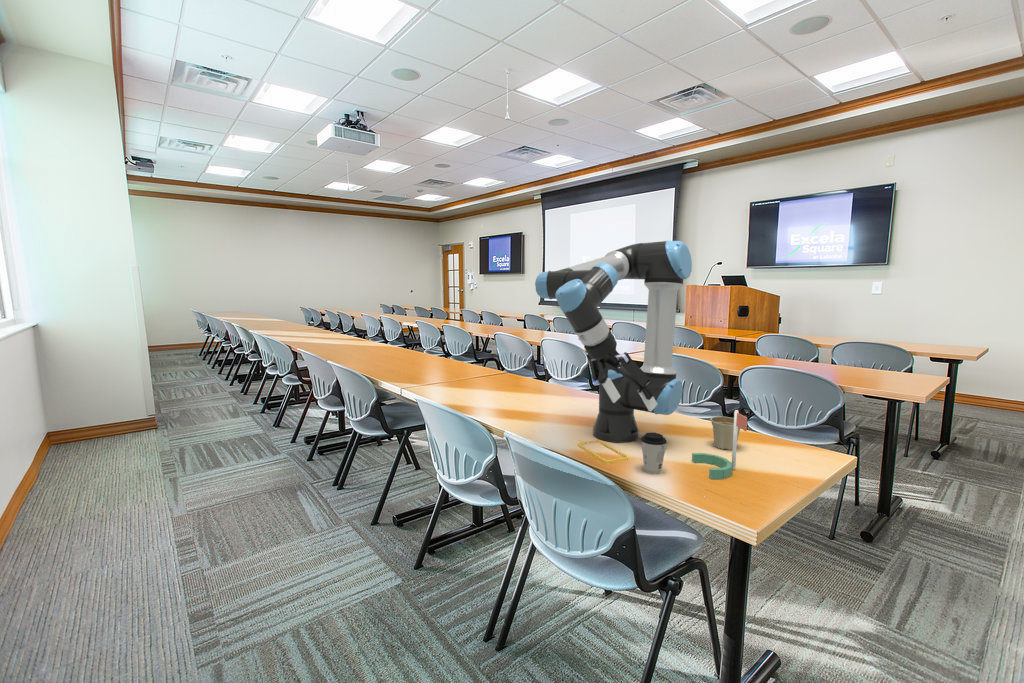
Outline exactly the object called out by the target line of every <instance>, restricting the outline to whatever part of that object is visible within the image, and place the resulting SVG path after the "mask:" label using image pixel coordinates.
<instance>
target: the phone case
mask: <svg viewBox="0 0 1024 683" xmlns="http://www.w3.org/2000/svg"><path fill="white" fill-rule="evenodd" d="M593 442H594V443H595V442H596V443H598V442H599V444H601V445H602V446H604V445H605V446H604V447H606V446H607V447H606V448H608V449H610V450H611V449H612V450H611V451H613V450H614V451H613V452H615V453H617V454H619V455H620V454H621V456H622V455H623V457H620V458H615V459H613V458H612V459H605V458H604V457H602V456H601V455H599V454H597V453H595V452H594V451H593V450H590V449H589V448H587V447H586V446H584V445H586V444H587V443H593ZM582 444H584V445H582ZM577 447H579V448H580V447H581V448H580V449H582V450H583V449H584V450H583V451H584V452H587V453H588V454H590V455H591V456H593V457H595V459H598V460H599V461H601V462H602V463H604V464H614V462H615V463H619V461H621V462H625V461H624V460H627V461H629V460H628V459H630V458H629V457H630V456H629V455H627V454H626V453H623V452H622V451H620V450H618V449H616V448H614V447H613V446H611V445H610V444H607V443H606V442H604V441H603V440H601V439H593V440H586V441H579V442H577Z"/></svg>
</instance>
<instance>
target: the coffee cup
mask: <svg viewBox="0 0 1024 683" xmlns="http://www.w3.org/2000/svg"><path fill="white" fill-rule="evenodd" d="M640 441H641V448H642V449H641V451H642V452H641V453H642V460H643V461H642V462H643V469H644V472H646V473H649V474H651V475H652V474H653V475H654V474H660V473H662V471H663V470H662V469H663V463H664V457H665V452H666V451H665V450H666V446H667V443H668V440H667V438H666V437H664V436H663V435H662V434H661V433H659V432H658V433H657V432H646V433H645V434H644V435H643V436H641V438H640Z"/></svg>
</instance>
